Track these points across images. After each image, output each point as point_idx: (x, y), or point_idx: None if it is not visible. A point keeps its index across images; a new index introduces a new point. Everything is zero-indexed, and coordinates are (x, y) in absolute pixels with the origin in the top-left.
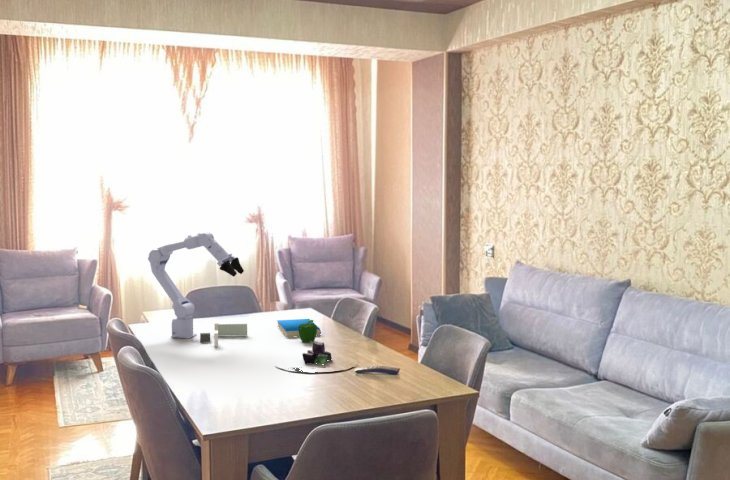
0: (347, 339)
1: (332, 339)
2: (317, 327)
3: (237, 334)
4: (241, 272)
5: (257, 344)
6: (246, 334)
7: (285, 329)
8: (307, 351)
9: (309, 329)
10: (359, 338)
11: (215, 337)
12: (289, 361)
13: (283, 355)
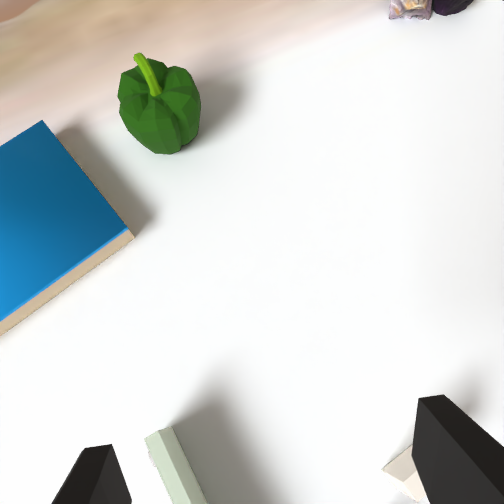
0: (88, 35)
1: (106, 75)
2: (22, 137)
3: (193, 475)
4: (122, 490)
5: (305, 281)
6: (171, 430)
7: (108, 238)
8: (422, 1)
9: (190, 75)
10: (60, 10)
11: None
12: (465, 58)
13: (408, 108)
